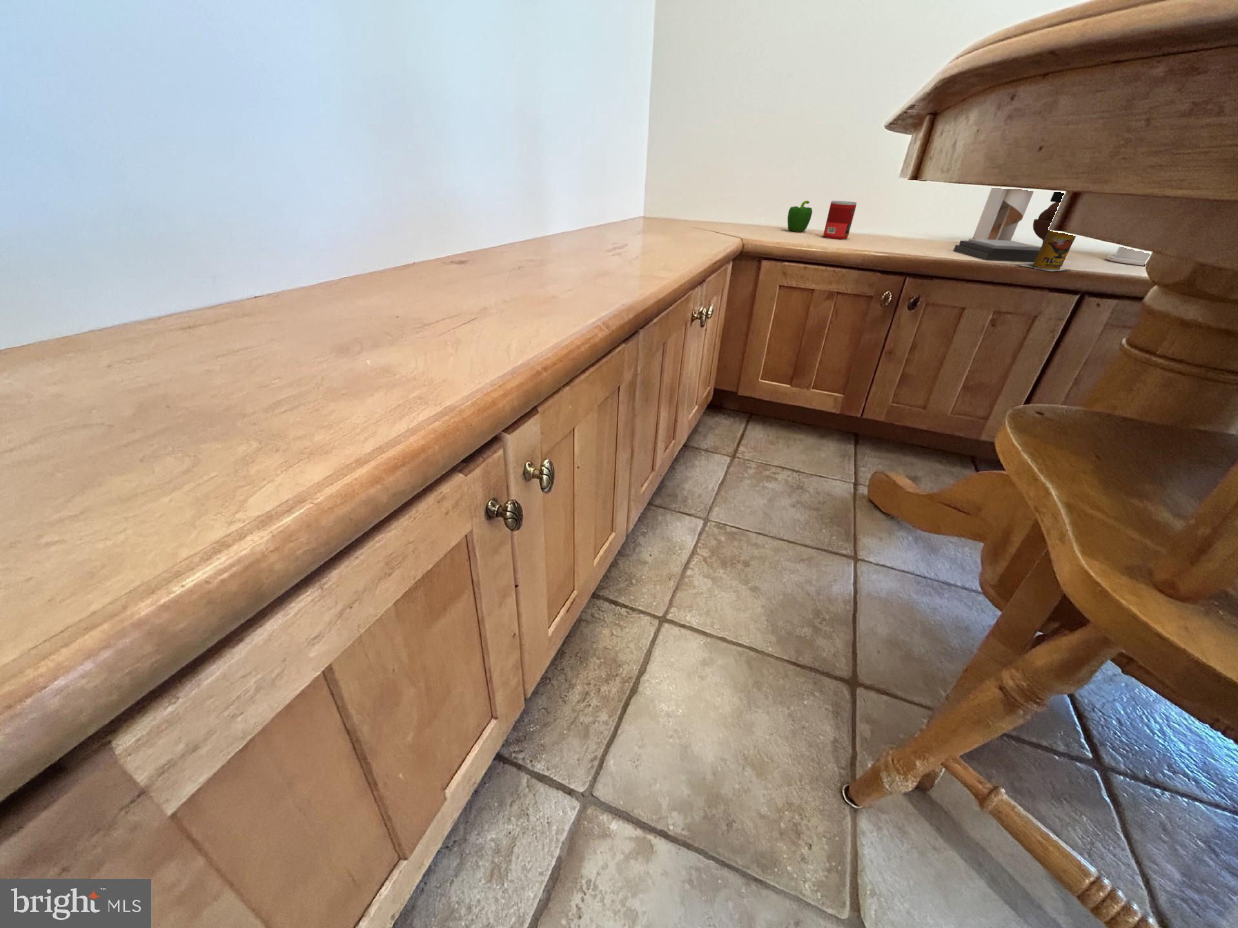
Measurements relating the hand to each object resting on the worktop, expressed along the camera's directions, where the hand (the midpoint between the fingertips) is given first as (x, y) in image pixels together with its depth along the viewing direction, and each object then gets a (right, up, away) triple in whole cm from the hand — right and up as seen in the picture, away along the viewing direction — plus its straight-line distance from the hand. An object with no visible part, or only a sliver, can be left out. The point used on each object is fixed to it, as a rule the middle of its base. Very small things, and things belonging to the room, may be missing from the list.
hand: (1071, 203), depth 124 cm
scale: (0, -3, +23) cm, 24 cm away
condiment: (0, -13, +8) cm, 16 cm away
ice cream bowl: (+18, -1, +30) cm, 35 cm away
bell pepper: (-48, +20, +57) cm, 78 cm away
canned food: (-39, +12, +46) cm, 61 cm away
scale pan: (0, -1, +22) cm, 22 cm away
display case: (+12, +7, +41) cm, 43 cm away
